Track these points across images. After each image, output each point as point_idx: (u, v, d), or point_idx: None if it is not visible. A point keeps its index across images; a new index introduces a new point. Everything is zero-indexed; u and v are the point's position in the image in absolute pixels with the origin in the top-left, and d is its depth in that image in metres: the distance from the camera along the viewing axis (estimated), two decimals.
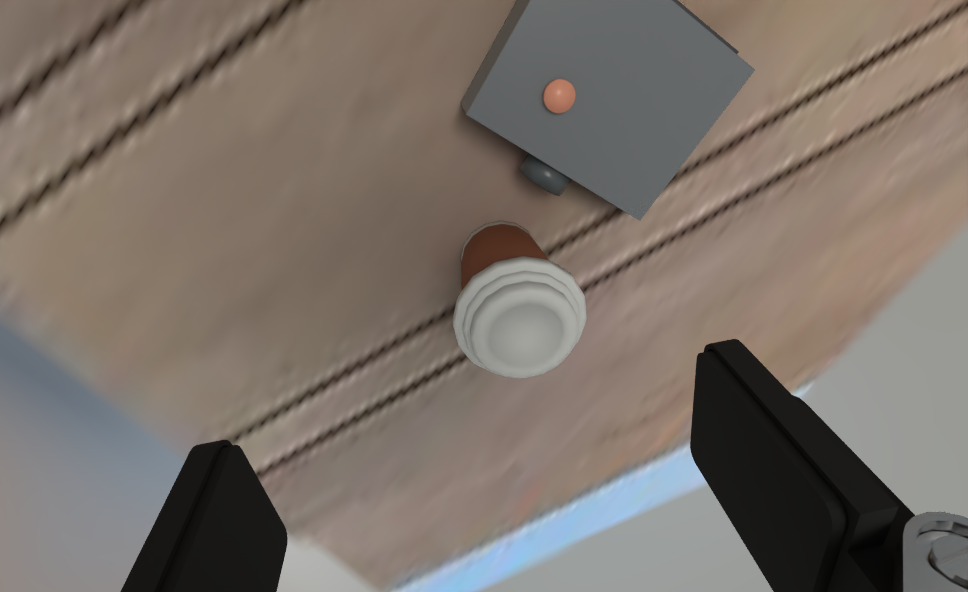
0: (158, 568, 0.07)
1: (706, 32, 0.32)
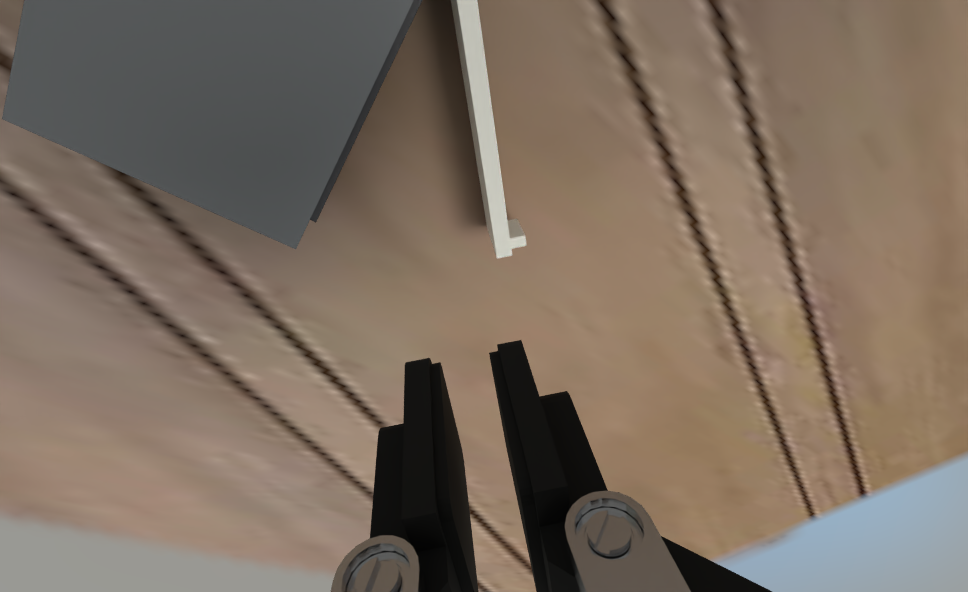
0: (426, 447, 0.09)
1: (330, 167, 0.23)
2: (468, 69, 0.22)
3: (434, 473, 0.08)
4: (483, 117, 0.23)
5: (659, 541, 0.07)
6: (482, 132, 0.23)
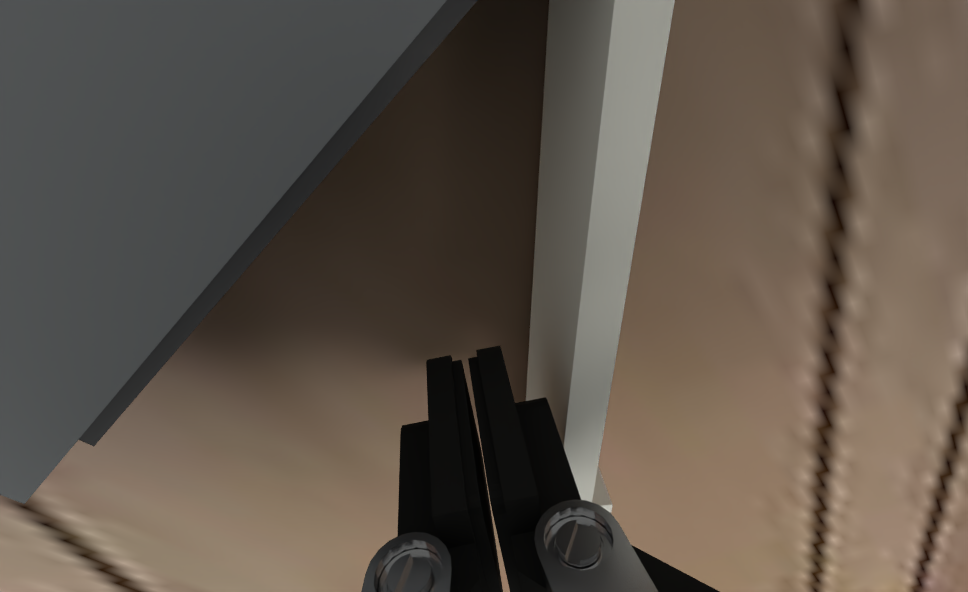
0: (453, 444, 0.09)
1: (136, 355, 0.08)
2: (593, 195, 0.08)
3: (462, 470, 0.08)
4: (599, 308, 0.09)
5: (628, 548, 0.07)
6: (587, 338, 0.09)
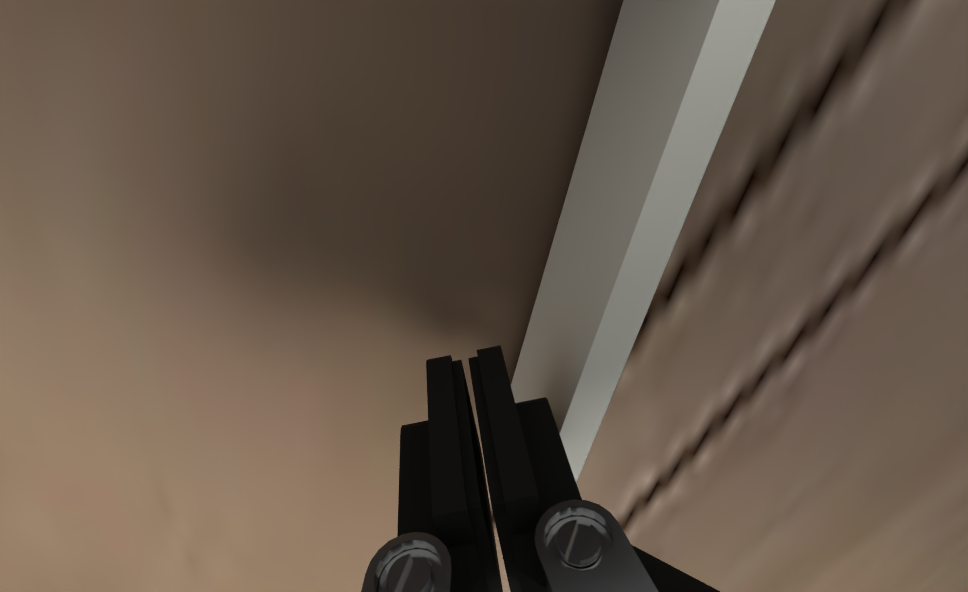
0: (453, 444, 0.09)
1: None
2: (645, 203, 0.09)
3: (462, 469, 0.08)
4: (623, 312, 0.09)
5: (628, 547, 0.07)
6: (605, 339, 0.10)
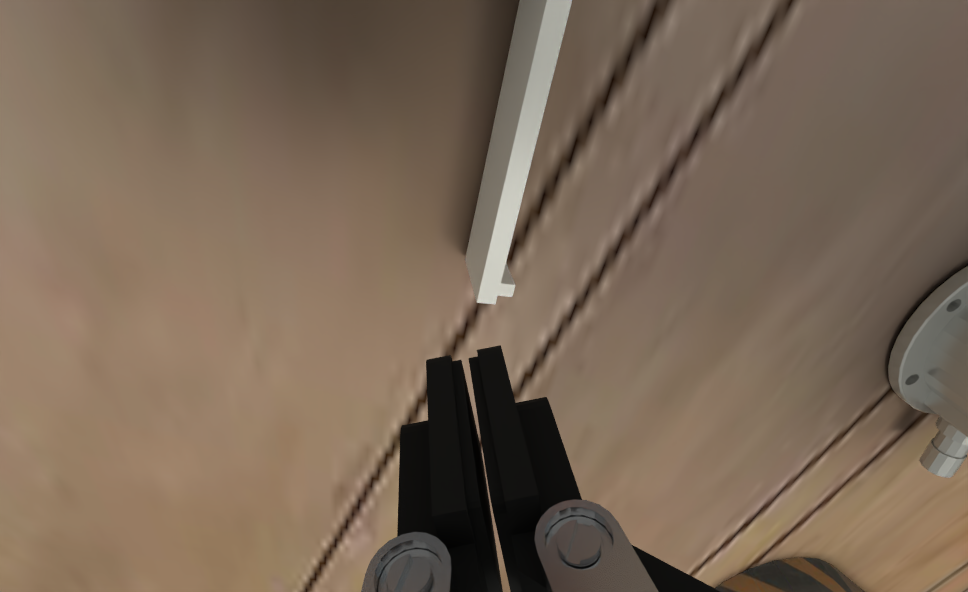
0: (453, 444, 0.09)
1: None
2: (531, 69, 0.17)
3: (462, 469, 0.08)
4: (526, 133, 0.18)
5: (628, 547, 0.07)
6: (517, 150, 0.18)
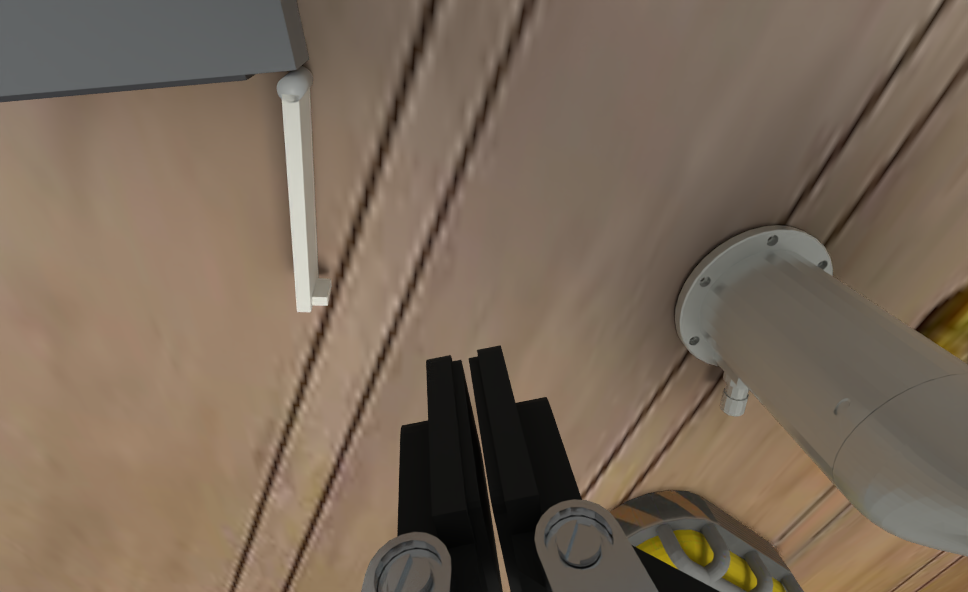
0: (453, 444, 0.09)
1: (57, 87, 0.23)
2: (287, 164, 0.27)
3: (462, 470, 0.08)
4: (296, 202, 0.28)
5: (628, 547, 0.07)
6: (294, 213, 0.28)
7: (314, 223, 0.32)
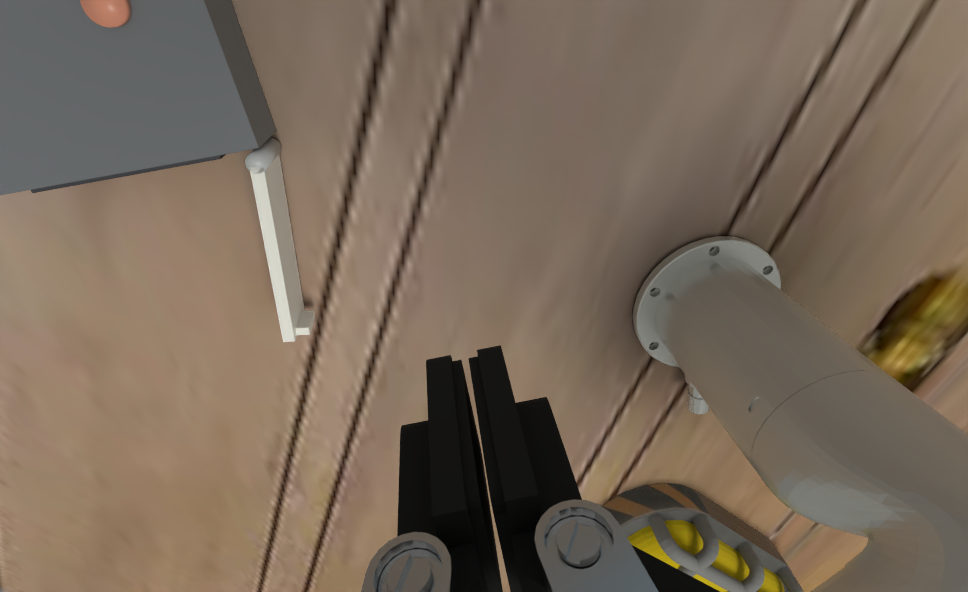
0: (453, 444, 0.09)
1: (74, 179, 0.29)
2: (260, 222, 0.32)
3: (462, 469, 0.08)
4: (271, 252, 0.33)
5: (628, 547, 0.07)
6: (271, 260, 0.34)
7: (294, 265, 0.37)
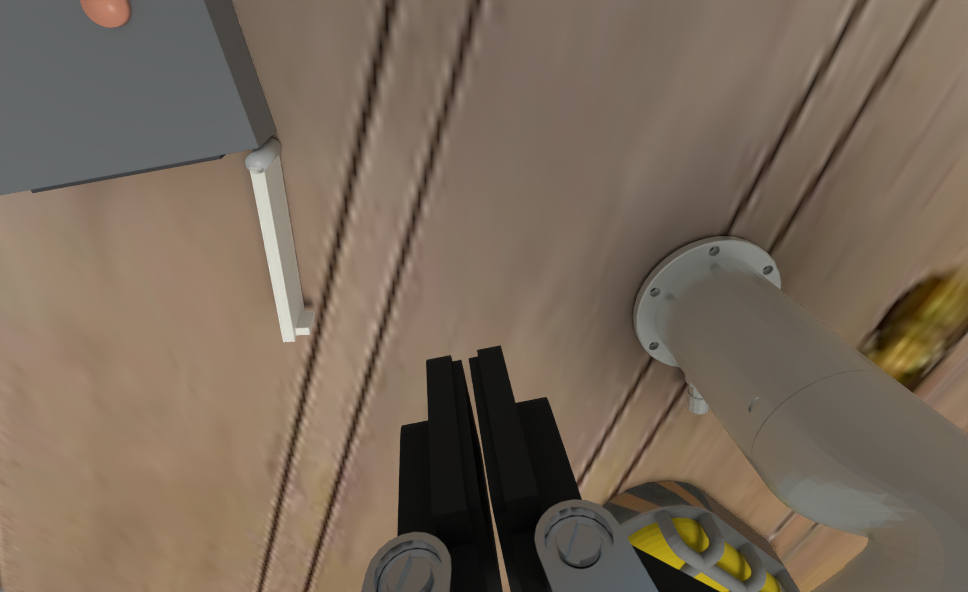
0: (453, 444, 0.09)
1: (74, 179, 0.29)
2: (260, 222, 0.32)
3: (462, 470, 0.08)
4: (271, 252, 0.33)
5: (628, 547, 0.07)
6: (271, 261, 0.34)
7: (294, 265, 0.37)
